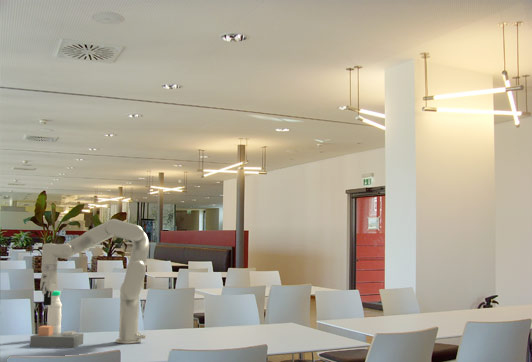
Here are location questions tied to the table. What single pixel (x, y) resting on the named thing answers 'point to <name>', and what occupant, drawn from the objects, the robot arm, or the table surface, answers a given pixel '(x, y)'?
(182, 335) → the table surface
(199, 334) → the table surface
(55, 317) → the water bottle
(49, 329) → the terracotta button
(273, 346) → the table surface
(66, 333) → the grey button
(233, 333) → the table surface
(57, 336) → the block
